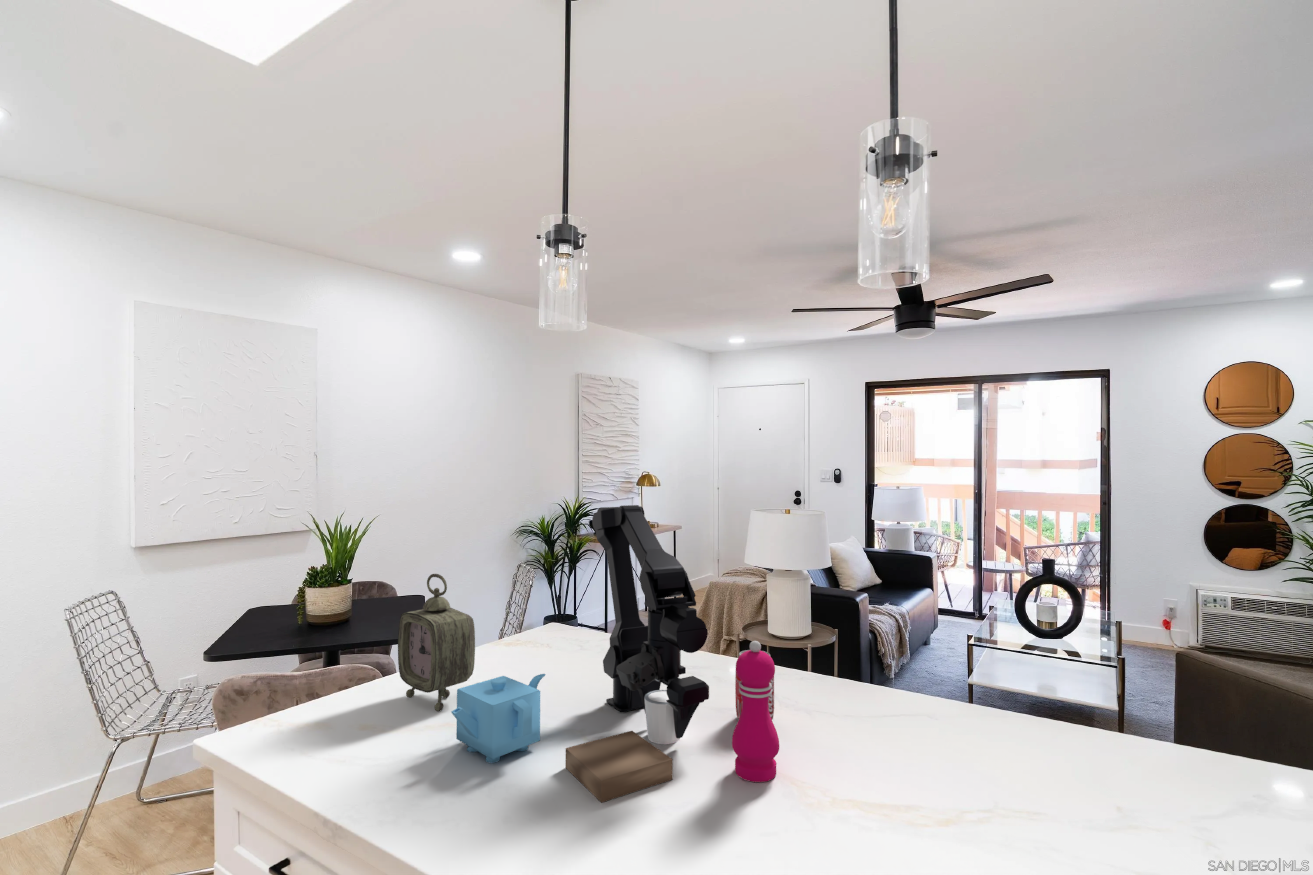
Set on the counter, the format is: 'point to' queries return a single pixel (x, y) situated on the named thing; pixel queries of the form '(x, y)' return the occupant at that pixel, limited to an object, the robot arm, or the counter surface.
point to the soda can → (739, 695)
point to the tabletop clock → (435, 646)
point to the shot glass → (659, 718)
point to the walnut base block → (618, 765)
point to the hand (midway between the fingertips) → (664, 727)
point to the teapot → (498, 716)
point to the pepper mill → (755, 718)
